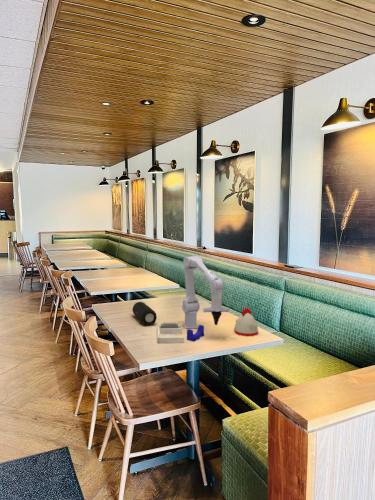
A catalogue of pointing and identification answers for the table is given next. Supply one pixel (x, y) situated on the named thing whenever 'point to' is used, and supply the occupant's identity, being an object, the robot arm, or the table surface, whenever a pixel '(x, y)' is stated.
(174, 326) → the seated twin plug
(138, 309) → the portable speaker
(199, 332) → the cable clip
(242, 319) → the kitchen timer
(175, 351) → the table surface
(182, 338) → the beige tray
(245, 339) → the table surface
